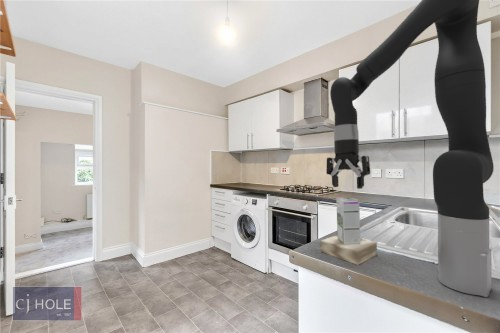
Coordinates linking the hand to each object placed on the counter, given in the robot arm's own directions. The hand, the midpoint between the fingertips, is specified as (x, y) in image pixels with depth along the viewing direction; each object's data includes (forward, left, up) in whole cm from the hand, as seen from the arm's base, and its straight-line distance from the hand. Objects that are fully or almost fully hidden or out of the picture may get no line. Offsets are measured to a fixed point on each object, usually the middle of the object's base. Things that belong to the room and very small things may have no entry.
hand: (347, 187), depth 76 cm
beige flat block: (0, 0, -22) cm, 22 cm away
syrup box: (0, 0, -18) cm, 18 cm away
